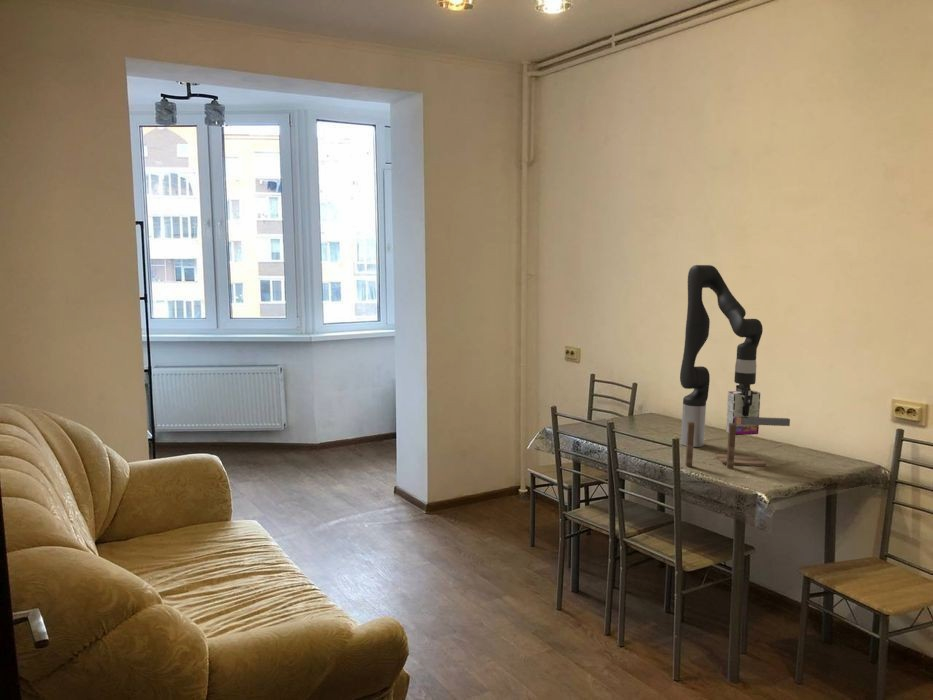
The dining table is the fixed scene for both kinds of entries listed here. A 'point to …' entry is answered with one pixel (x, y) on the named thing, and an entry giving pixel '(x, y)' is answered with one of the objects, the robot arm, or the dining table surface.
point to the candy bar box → (736, 410)
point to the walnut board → (742, 460)
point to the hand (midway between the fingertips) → (742, 414)
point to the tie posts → (729, 451)
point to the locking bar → (762, 421)
